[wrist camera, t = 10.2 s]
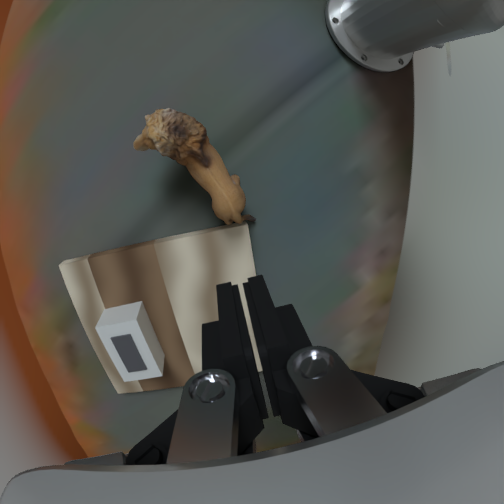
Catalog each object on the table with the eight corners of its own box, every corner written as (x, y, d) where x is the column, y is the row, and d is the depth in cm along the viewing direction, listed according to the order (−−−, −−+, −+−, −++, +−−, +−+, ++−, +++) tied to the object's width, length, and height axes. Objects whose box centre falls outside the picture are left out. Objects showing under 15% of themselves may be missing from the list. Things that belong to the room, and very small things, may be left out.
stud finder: (142, 300, 32) (135, 320, 29) (164, 355, 35) (162, 377, 31) (104, 309, 32) (94, 328, 28) (129, 361, 35) (124, 383, 31)
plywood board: (245, 221, 33) (247, 224, 32) (268, 361, 40) (271, 368, 39) (63, 260, 31) (58, 265, 29) (119, 386, 38) (118, 393, 36)
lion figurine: (140, 141, 28) (117, 138, 20) (176, 104, 28) (168, 87, 19) (237, 235, 33) (251, 266, 25) (273, 201, 33) (298, 221, 24)
